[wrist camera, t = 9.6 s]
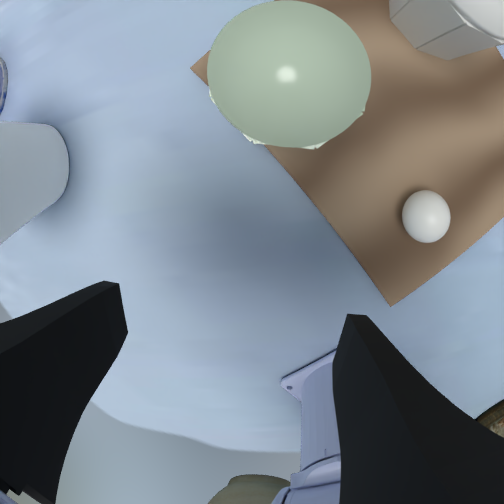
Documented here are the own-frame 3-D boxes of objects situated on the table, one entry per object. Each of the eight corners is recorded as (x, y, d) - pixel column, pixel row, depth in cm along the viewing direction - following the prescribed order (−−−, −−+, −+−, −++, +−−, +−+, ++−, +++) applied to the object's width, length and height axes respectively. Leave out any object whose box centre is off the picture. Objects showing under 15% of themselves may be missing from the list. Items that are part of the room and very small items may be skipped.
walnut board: (546, 166, 13) (549, 168, 13) (388, 303, 19) (390, 307, 19) (398, -59, 9) (400, -62, 8) (192, 69, 15) (189, 68, 14)
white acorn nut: (479, 39, 11) (540, 21, 5) (432, 71, 12) (495, 54, 6) (424, -27, 9) (468, -68, 3) (370, -1, 11) (406, -51, 5)
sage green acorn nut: (359, 101, 14) (401, 88, 8) (283, 160, 16) (280, 180, 10) (293, 29, 13) (294, -23, 7) (217, 88, 15) (175, 67, 9)
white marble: (443, 214, 16) (466, 230, 13) (409, 241, 17) (427, 261, 14) (422, 175, 15) (445, 186, 12) (386, 204, 16) (403, 219, 14)
